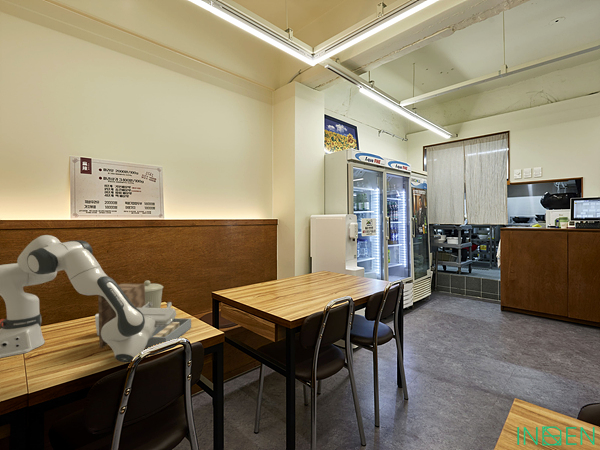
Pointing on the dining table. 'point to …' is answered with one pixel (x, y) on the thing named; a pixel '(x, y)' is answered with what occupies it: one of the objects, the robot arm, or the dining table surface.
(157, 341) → the tray
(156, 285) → the canister
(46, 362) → the dining table surface
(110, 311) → the zigzag patterned arch
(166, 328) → the bar
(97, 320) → the white cup
